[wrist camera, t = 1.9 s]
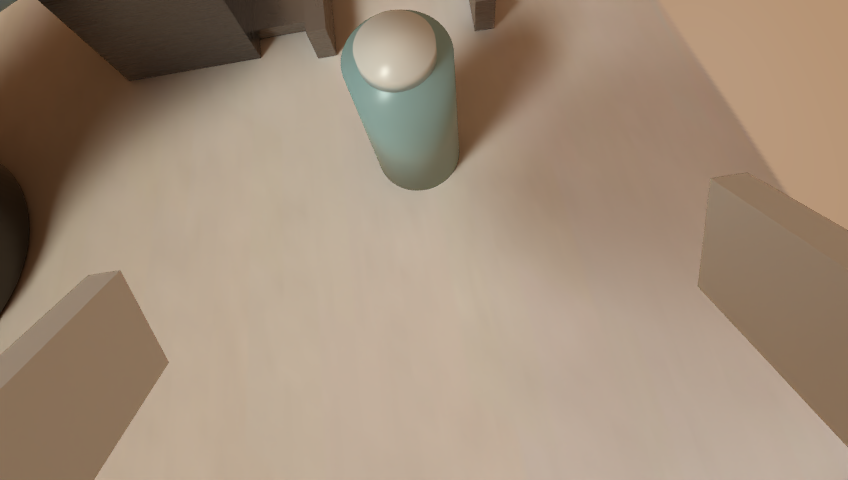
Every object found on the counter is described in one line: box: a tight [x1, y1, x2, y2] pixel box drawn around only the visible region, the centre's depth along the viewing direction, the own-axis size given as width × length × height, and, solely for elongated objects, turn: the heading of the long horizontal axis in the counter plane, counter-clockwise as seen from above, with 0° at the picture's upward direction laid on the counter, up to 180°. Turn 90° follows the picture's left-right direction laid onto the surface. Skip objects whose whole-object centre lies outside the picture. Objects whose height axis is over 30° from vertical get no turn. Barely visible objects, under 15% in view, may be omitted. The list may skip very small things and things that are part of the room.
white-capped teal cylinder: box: [341, 10, 459, 190], centre depth 25 cm, size 5×5×10 cm
